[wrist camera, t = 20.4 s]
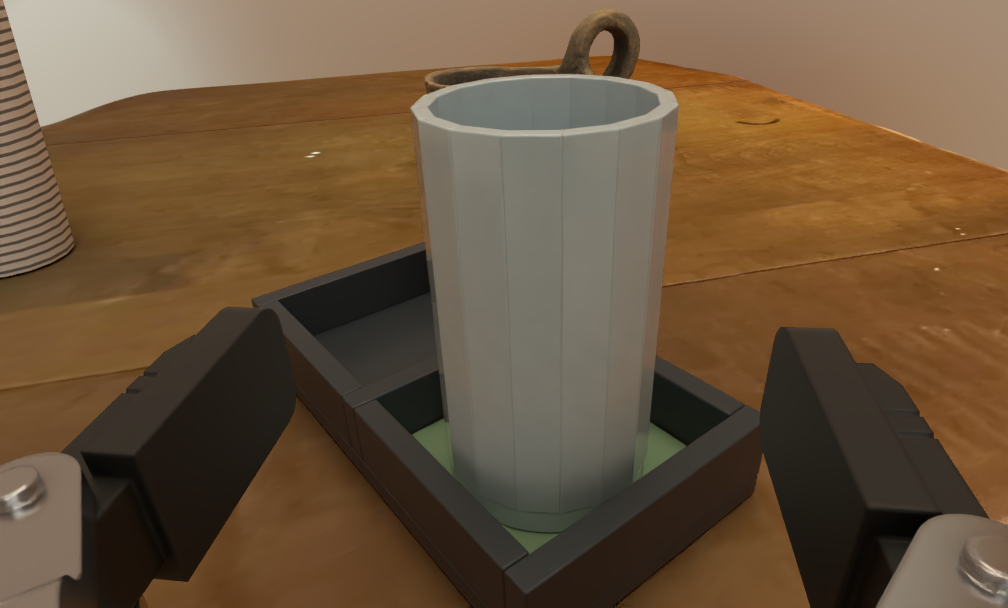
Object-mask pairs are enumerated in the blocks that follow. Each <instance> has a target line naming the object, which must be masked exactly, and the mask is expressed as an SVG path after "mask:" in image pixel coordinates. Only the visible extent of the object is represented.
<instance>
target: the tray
mask: <svg viewBox="0 0 1008 608" xmlns="http://www.w3.org/2000/svg"><path fill="white" fill-rule="evenodd" d="M252 304H253V308H269V309H272V310H274V311H275V312H276V314H277V315H278V317H279V319H280V323H281V327H282V331H283V335H284V339H285V343H286V347H287V351H288V355H289V359H290V363H291V368H292V372H293V376H294V380H295V384H296V394H297V395H298V397H299V398H300V399H301V400H302V402H303V403H304V404H305V405H306V406H307V408H308V409H309V410H310V411H311V412H312V414H313V415H314V416H315V417H316V418H317V420H318V421H319V422H320V423H321V424H322V426H323V427H324V428H325V429H326V430H327V432H328V433H329V434H330V435H331V436H332V438H333V439H334V440H335V441H336V443H337V444H338V445H339V446H340V447H341V449H342V450H343V451H344V452H345V453H346V455H347V456H348V457H349V458H350V459H351V461H352V462H353V463H354V464H355V465H356V467H357V468H358V469H359V470H360V471H361V473H362V474H363V475H364V476H365V477H366V479H367V480H368V481H369V482H370V484H371V485H372V486H373V487H374V488H375V490H376V491H377V492H378V493H379V494H380V496H381V497H382V498H383V499H384V500H385V502H386V503H387V504H388V505H389V506H390V508H391V509H392V510H393V511H394V512H395V514H396V515H397V516H398V517H399V518H400V520H401V521H402V522H403V523H404V525H405V526H406V527H407V528H408V529H409V531H410V532H411V533H412V534H413V535H414V537H415V538H416V539H417V540H418V541H419V543H420V544H421V545H422V546H423V547H424V549H425V550H426V551H427V552H428V553H429V555H430V556H431V557H432V558H433V559H434V561H435V562H436V563H437V564H438V566H439V567H440V568H441V569H442V570H443V572H444V573H445V574H446V575H447V576H448V578H449V579H450V580H451V581H452V582H453V584H454V585H455V586H456V587H457V588H458V590H459V591H460V592H461V593H462V594H463V596H464V597H465V598H466V599H467V600H468V602H469V603H470V604H471V605H472V607H473V608H611V607H613V606H614V605H615V604H616V603H617V602H619V601H620V600H621V599H622V598H624V597H625V596H626V595H627V594H629V593H630V592H631V591H632V590H634V589H635V588H636V587H637V586H638V585H640V584H641V583H642V582H643V581H645V580H646V579H647V578H648V577H650V576H651V575H652V574H653V573H655V572H656V571H657V570H658V569H659V568H661V567H662V566H663V565H664V564H666V563H667V562H668V561H669V560H671V559H672V558H673V557H674V556H676V555H677V554H678V553H679V552H680V551H682V550H683V549H684V548H685V547H687V546H688V545H689V544H690V543H692V542H693V541H694V540H695V539H697V538H698V537H699V536H700V535H702V534H703V533H704V532H705V531H706V530H708V529H709V528H710V527H711V526H713V525H714V524H715V523H716V522H718V521H719V520H720V519H721V518H723V517H724V516H725V515H726V514H727V513H729V512H730V511H731V510H732V509H734V508H735V507H736V506H737V505H739V504H740V503H741V502H742V501H744V500H745V499H746V498H747V497H748V496H750V495H751V494H752V493H753V492H754V489H755V485H756V480H757V474H758V473H759V468H760V463H761V458H762V454H763V450H762V446H761V439H760V412H759V411H757V410H755V409H753V408H752V407H750V406H748V405H746V406H745V404H744V403H742V402H740V401H738V400H736V399H735V398H733V397H731V396H729V395H727V394H726V393H724V392H722V391H720V390H718V389H716V388H715V387H713V386H711V385H709V384H707V383H706V382H704V381H702V380H700V379H698V378H697V377H695V376H693V375H691V374H689V373H687V372H686V371H684V370H682V369H680V368H678V367H677V366H675V365H673V364H671V363H669V362H668V361H666V360H664V359H662V358H660V357H658V356H657V355H656V359H655V369H654V380H653V391H652V402H651V413H650V424H649V435H648V446H647V455H646V458H645V462H644V471H643V476H642V477H641V478H640V479H638V480H637V481H635V482H634V483H632V484H631V485H629V486H628V487H626V488H625V489H624V490H622V491H621V492H619V493H618V494H616V495H615V496H613V497H612V498H610V499H609V500H608V501H606V502H605V503H603V504H602V505H600V506H599V507H597V508H596V509H594V510H593V511H592V512H590V513H589V514H587V515H586V516H584V517H583V518H581V519H580V520H578V521H577V522H575V523H574V524H573V525H571V526H570V527H568V528H567V529H565V530H564V531H562V532H554V533H548V532H533V531H525V530H521V529H516V528H512V527H509V526H506V525H504V524H501V523H499V522H498V521H497V520H496V519H495V518H494V517H493V516H492V515H491V514H490V513H489V512H488V511H487V510H486V509H485V508H484V507H483V506H482V505H481V504H480V503H479V502H478V501H477V500H476V499H475V498H474V497H473V496H472V495H471V494H470V493H469V492H468V491H467V490H466V489H465V488H464V487H463V486H462V485H461V484H460V483H459V482H458V481H457V480H456V479H455V478H454V477H453V476H452V470H451V463H450V454H449V450H448V447H447V440H446V431H445V421H444V412H443V403H442V394H441V385H440V376H439V366H438V357H437V348H436V339H435V330H434V321H433V311H432V302H431V293H430V284H429V275H428V266H427V256H426V247H425V242H422V243H419V244H416V245H413V246H410V247H407V248H404V249H401V250H398V251H395V252H392V253H389V254H386V255H383V256H380V257H377V258H374V259H371V260H368V261H365V262H362V263H359V264H356V265H353V266H350V267H347V268H344V269H341V270H338V271H335V272H331V273H328V274H325V275H322V276H319V277H316V278H313V279H310V280H307V281H304V282H301V283H298V284H295V285H292V286H289V287H286V288H283V289H280V290H277V291H274V292H271V293H268V294H265V295H262V296H259V297H256V298H253V299H252Z"/></svg>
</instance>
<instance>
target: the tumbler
mask: <svg viewBox="0 0 1008 608" xmlns="http://www.w3.org/2000/svg"><path fill="white" fill-rule="evenodd" d="M678 108H679V105H678V103H677V100H676V98H675V96H674V93H672V92H670V91H668V90H666V89H663V88H661V87H658V86H656V85H653V84H651V83H648V82H642V81H636V80H631V79H625V78H619V77H612V76H597V75H581V74H542V75H521V76H510V77H500V78H489V79H483V80H478V81H473V82H467V83H462V84H457V85H452V86H448V87H446V88H443V89H440V90H437V91H434V92H432V93H429V94H426V95H424V96H422V97H421V98H420V99H419V100H418V101H417V102H416V103H415V104H414V105H413V106H412V107H411V109H410V110H411V119H412V128H413V137H414V146H415V156H416V165H417V174H418V183H419V192H420V201H421V211H422V220H423V229H424V238H425V247H426V256H427V266H428V275H429V284H430V293H431V302H432V311H433V321H434V330H435V339H436V348H437V357H438V366H439V376H440V385H441V394H442V403H443V412H444V421H445V431H446V440H447V447H448V450H449V454H450V463H451V470H452V476H453V477H454V478H455V479H456V480H457V481H458V482H459V483H460V484H461V485H462V486H463V487H464V488H465V489H466V490H467V491H468V492H469V493H470V494H471V495H472V496H473V497H474V498H475V499H476V500H477V501H478V502H479V503H480V504H481V505H482V506H483V507H484V508H485V509H486V510H487V511H488V512H489V513H490V514H491V515H492V516H493V517H494V518H495V519H496V520H497V521H498V522H499V523H501V524H504V525H506V526H509V527H512V528H516V529H521V530H525V531H533V532H548V533H554V532H562V531H564V530H565V529H567V528H568V527H570V526H571V525H573V524H574V523H575V522H577V521H578V520H580V519H581V518H583V517H584V516H586V515H587V514H589V513H590V512H592V511H593V510H594V509H596V508H597V507H599V506H600V505H602V504H603V503H605V502H606V501H608V500H609V499H610V498H612V497H613V496H615V495H616V494H618V493H619V492H621V491H622V490H624V489H625V488H626V487H628V486H629V485H631V484H632V483H634V482H635V481H637V480H638V479H640V478H641V477H642V476H643V471H644V462H645V458H646V455H647V446H648V435H649V424H650V413H651V402H652V391H653V380H654V369H655V359H656V348H657V337H658V326H659V315H660V304H661V293H662V282H663V272H664V261H665V250H666V239H667V228H668V217H669V206H670V195H671V185H672V174H673V163H674V152H675V141H676V130H677V119H678Z"/></svg>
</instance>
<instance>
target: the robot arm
mask: <svg viewBox="0 0 1008 608" xmlns="http://www.w3.org/2000/svg"><path fill="white" fill-rule="evenodd" d="M295 403H296V384H295V380H294V376H293V372H292V368H291V363H290V359H289V355H288V351H287V347H286V343H285V339H284V335H283V331H282V327H281V323H280V319H279V317H278V315H277V314H276V312H275V311H274V310H272V309H269V308H241V307H226V308H224V309H222V310H221V311H220V312H219V313H218V314H217V315H216V316H215V317H214V318H213V319H212V320H211V321H210V322H209V323H208V324H207V325H206V326H205V327H204V328H203V329H202V330H201V331H200V332H199V333H198V334H197V335H193V336H191V337H190V338H188V339H186V340H184V341H183V342H181V343H179V344H177V345H176V346H174V347H172V348H170V349H169V350H167V351H165V352H164V353H163V354H162V355H161V356H160V357H159V358H158V359H157V360H156V361H155V362H154V363H153V364H151V365H150V366H149V367H148V368H147V369H146V370H145V371H144V375H143V376H139V377H138V378H137V379H136V380H135V381H134V382H133V383H132V384H131V385H130V386H129V387H128V388H127V389H126V394H125V393H122V394H121V395H120V396H118V397H117V398H116V399H115V400H114V401H113V402H112V403H111V404H110V405H109V406H108V407H107V408H106V409H105V410H104V411H103V412H102V413H101V414H100V415H99V416H98V417H97V418H96V419H95V420H94V421H93V422H92V423H91V424H90V425H89V426H88V427H87V428H85V429H84V430H83V431H82V432H81V433H80V434H79V435H78V436H77V437H76V438H75V439H74V440H73V441H72V442H71V443H70V444H69V445H68V446H67V447H66V448H65V449H64V450H63V451H62V452H61V453H54V452H49V453H39V454H34V455H29V456H26V457H22V458H19V459H16V460H13V461H10V462H8V463H6V464H3V465H1V466H0V608H148V605H147V602H146V600H145V598H144V596H143V593H144V592H145V590H146V589H147V587H148V586H149V584H150V583H151V581H152V580H153V579H163V580H174V581H185V582H188V581H189V579H190V578H191V576H192V575H193V573H194V571H195V570H196V568H197V567H198V565H199V564H200V562H201V560H202V559H203V557H204V556H205V554H206V552H207V551H208V549H209V548H210V546H211V545H212V543H213V541H214V540H215V538H216V537H217V535H218V534H219V532H220V530H221V529H222V527H223V526H224V524H225V522H226V521H227V519H228V518H229V516H230V515H231V513H232V511H233V510H234V508H235V507H236V505H237V504H238V502H239V500H240V499H241V497H242V496H243V494H244V492H245V491H246V489H247V488H248V486H249V485H250V483H251V481H252V480H253V478H254V477H255V475H256V474H257V472H258V470H259V469H260V467H261V466H262V464H263V462H264V461H265V459H266V458H267V456H268V455H269V453H270V451H271V450H272V448H273V447H274V445H275V444H276V442H277V440H278V439H279V437H280V436H281V434H282V432H283V431H284V429H285V428H286V426H287V425H288V423H289V421H290V419H291V417H292V415H293V412H294V408H295ZM933 435H934V433H933V431H932V430H931V428H930V427H929V425H928V424H927V422H926V421H925V419H924V418H923V417H920V416H919V410H918V408H917V407H916V405H915V404H914V402H913V401H912V399H911V398H910V396H909V395H908V393H907V392H906V390H905V389H904V387H903V386H902V385H901V384H899V383H898V382H897V381H896V380H894V379H893V378H892V377H890V376H889V375H888V374H886V373H885V372H884V371H882V370H881V369H880V368H878V367H877V366H876V365H874V364H869V363H856V362H855V361H854V359H853V357H852V355H851V354H850V352H849V350H848V349H847V347H846V345H845V343H844V342H843V340H842V338H841V336H840V335H839V333H838V332H837V331H836V330H835V329H825V328H796V327H781V328H779V330H778V331H777V333H776V336H775V339H774V344H773V349H772V354H771V359H770V364H769V369H768V374H767V379H766V384H765V389H764V394H763V399H762V404H761V410H760V439H761V446H762V450H763V453H764V457H765V460H766V463H767V466H768V470H769V473H770V476H771V480H772V483H773V486H774V489H775V493H776V496H777V499H778V502H779V506H780V509H781V512H782V516H783V519H784V522H785V525H786V529H787V532H788V535H789V538H790V542H791V545H792V548H793V552H794V555H795V558H796V561H797V565H798V568H799V571H800V574H801V578H802V581H803V584H804V588H805V591H806V594H807V597H808V601H809V604H810V607H811V608H1008V526H1007V525H1005V524H1002V523H1000V522H997V521H994V520H991V519H989V517H988V516H987V514H986V512H985V511H984V509H983V508H982V506H981V505H980V503H979V502H978V500H977V499H976V497H975V496H974V494H973V493H972V491H971V490H970V488H969V486H968V485H967V483H966V482H965V480H964V479H963V477H962V476H961V474H960V473H959V471H958V470H957V468H956V467H955V465H954V464H953V462H952V460H951V459H950V457H949V456H948V454H947V453H946V451H945V450H944V448H943V447H942V445H941V444H940V442H939V441H938V439H934V436H933Z"/></svg>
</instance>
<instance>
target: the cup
mask: <svg viewBox="0 0 1008 608" xmlns="http://www.w3.org/2000/svg"><path fill="white" fill-rule="evenodd" d="M73 247H74V240H73V236H72V233H71V229H70V226H69V223H68V219H67V216H66V213H65V209H64V206H63V202H62V199H61V196H60V192H59V189H58V185H57V182H56V179H55V175H54V172H53V169H52V165H51V162H50V158H49V155H48V152H47V148H46V145H45V141H44V138H43V135H42V131H41V128H40V125H39V121H38V118H37V114H36V111H35V108H34V105H33V101H32V98H31V94H30V91H29V88H28V84H27V81H26V77H25V74H24V70H23V67H22V64H21V61H20V57H19V53H18V50H17V47H16V43H15V41H14V37H13V33H12V30H11V26H10V23H9V20H8V17H7V13H6V10H5V7H4V3H3V0H0V277H7V276H11V275H16V274H20V273H24V272H28V271H31V270H34V269H37V268H39V267H42V266H45V265H47V264H50V263H52V262H54V261H56V260H57V259H59V258H61V257H63V256H64V255H66V254H67V253H68V252H69V251H70V250H71V249H72V248H73Z"/></svg>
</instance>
